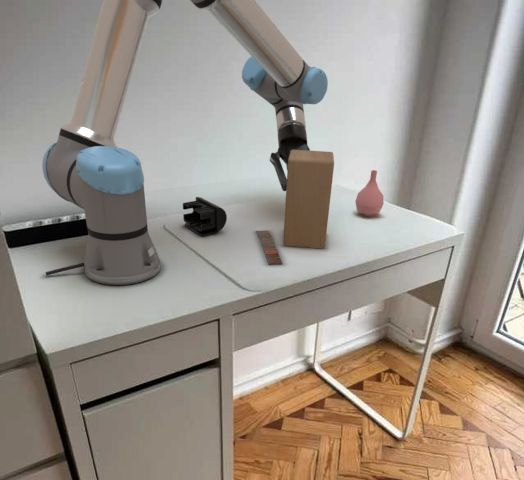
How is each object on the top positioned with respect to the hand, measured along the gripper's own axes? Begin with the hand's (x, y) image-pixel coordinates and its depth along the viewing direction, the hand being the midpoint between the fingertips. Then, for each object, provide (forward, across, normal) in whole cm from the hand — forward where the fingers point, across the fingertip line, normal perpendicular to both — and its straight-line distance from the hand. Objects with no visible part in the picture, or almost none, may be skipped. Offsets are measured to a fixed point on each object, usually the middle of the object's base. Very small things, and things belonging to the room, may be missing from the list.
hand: (299, 215), depth 126 cm
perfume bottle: (-5, -22, -11) cm, 25 cm away
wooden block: (+8, 0, +2) cm, 8 cm away
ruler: (+10, +10, +5) cm, 15 cm away
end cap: (+1, +24, -5) cm, 24 cm away
